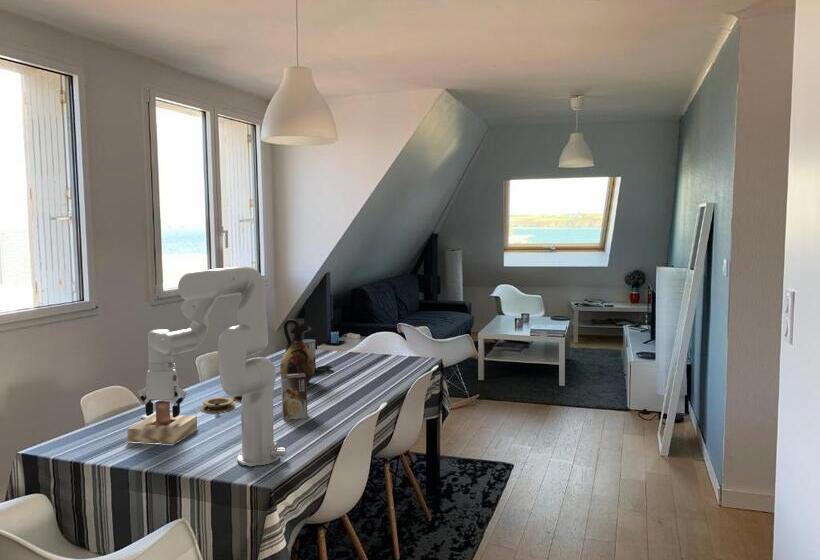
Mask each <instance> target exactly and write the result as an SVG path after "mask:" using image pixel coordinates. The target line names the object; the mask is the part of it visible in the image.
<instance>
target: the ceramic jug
mask: <svg viewBox="0 0 820 560" xmlns="http://www.w3.org/2000/svg"><path fill="white" fill-rule="evenodd" d="M290 324H293V325H294V327H293V328H292V329H291V331H290V333H291V334H293V338H291V336H290V333H289V328H288V326H289V325H290ZM311 330H312V328H311V327H310V326H309V324H308V323H306V322H301V324H299V322H298V320H296V319H294V318H288V319H287V320H285V321H284V323H283V333H284V336H285V339H286V342H287V344H286V346H285V352H284V354H283V356H282V358H281V361H280V366H279V371H280V372H279V373H280V375H281V374H297V373H304V374H305V375H306V384H307V387H308V386H309V382H310V381H311V379H312V378H313V377H314V375H315V371H316V370H315V364H314V360H313V357H312V354H311V353H310V351H309V349H308V348H307V346H306V345H305V343H304V342H303V340H304V339H303V336H302V335H303V334H304V333H306V332H310V331H311ZM291 339H292V340H291Z"/></svg>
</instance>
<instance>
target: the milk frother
mask: <svg viewBox="0 0 820 560" xmlns="http://www.w3.org/2000/svg"><path fill="white" fill-rule="evenodd" d="M302 340H303V342H304V343H305V345H306V346H307V348H308V349H309V351H310V353H311V354H312V357H313V360H314V364H315V371H316V370H325V371H329V370H330V369H332V368H333V366H332V365H329V364H325V365H321V366H317V365H316V339H311V338H310V339H304V338H303V339H302Z"/></svg>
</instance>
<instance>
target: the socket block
mask: <svg viewBox="0 0 820 560" xmlns="http://www.w3.org/2000/svg"><path fill="white" fill-rule="evenodd" d="M195 430H196V431H198V416H197V415H185V414H179V415H178V416H177V417H173V415H170V424H169V425H167V426H162V425H156V414H154V415H152V416H150V417H148V418H146V419H142V420H141V421H139V422H137V423H135V424H134V425H132V426H130V427H128V428H127V433H126V434H127V443H128V442H144V443H161V444H174V443H176V442H177V441H179V440H181V439H183V438H184V437H186V436H187V437H189V436H190V435H192V434H193V433H195V432H196V431H195ZM194 431H195V432H194ZM192 432H193V433H192ZM191 433H192V434H191ZM189 434H190V435H189ZM188 435H189V436H188ZM187 437H186V438H187ZM184 439H185V438H184ZM184 439H183V440H184ZM181 441H182V440H181Z"/></svg>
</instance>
